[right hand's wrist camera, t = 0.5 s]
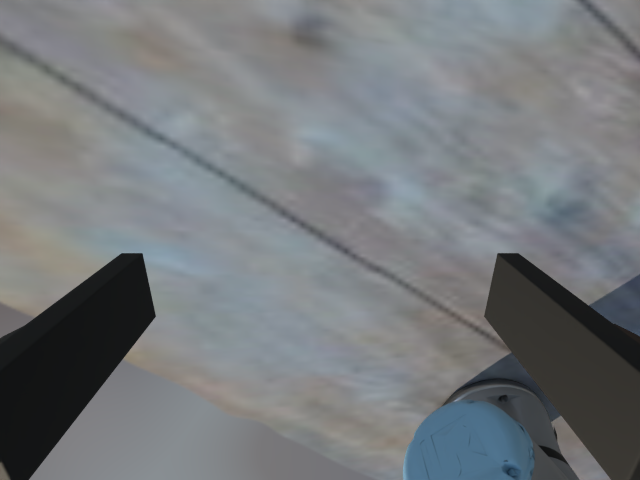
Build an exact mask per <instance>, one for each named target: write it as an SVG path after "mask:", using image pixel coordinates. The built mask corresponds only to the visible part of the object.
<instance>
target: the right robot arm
mask: <svg viewBox="0 0 640 480" xmlns="http://www.w3.org/2000/svg"><path fill="white" fill-rule="evenodd" d="M155 317H156V315H155V311H154V306H153V301H152V296H151V292H150V287H149V282H148V277H147V273H146V268H145V263H144V259H143V254H142V253H122V254H120V255H119V256H117V257H116V258H115V259H113V260H112V261H111V262H109V263H108V264H107V265H105V266H104V267H103V268H101V269H100V270H99V271H97V272H96V273H95V274H93V275H92V276H91V277H89V278H88V279H87V280H85V281H84V282H83V283H81V284H80V285H79V286H77V287H76V288H75V289H73V290H72V291H71V292H69V293H68V294H66V295H65V296H64V297H62V298H61V299H60V300H58V301H57V302H56V303H54V304H53V305H52V306H50V307H49V308H48V309H46V310H45V311H44V312H42V313H41V314H40V315H38V316H37V317H36V318H34V319H33V320H32V321H30V322H29V323H28V324H26V325H25V326H23V327H21V328H19V329H17V330H15V331H13V332H11V333H9V334H7V335H5V336H3V337H2V338H0V480H29V479H30V477H31V476H32V475H33V473H34V472H35V471H36V470H37V468H38V467H39V466H40V465H41V463H42V462H43V461H44V459H45V458H46V457H47V455H48V454H49V453H50V452H51V450H52V449H53V448H54V447H55V445H56V444H57V443H58V441H59V440H60V439H61V437H62V436H63V435H64V434H65V432H66V431H67V430H68V429H69V427H70V426H71V425H72V423H73V422H74V421H75V420H76V418H77V417H78V416H79V414H80V413H81V412H82V411H83V409H84V408H85V407H86V405H87V404H88V403H89V401H90V400H91V399H92V398H93V396H94V395H95V394H96V393H97V391H98V390H99V389H100V387H101V386H102V385H103V384H104V382H105V381H106V380H107V378H108V377H109V376H110V375H111V373H112V372H113V371H114V369H115V368H116V367H117V366H118V364H119V363H120V362H121V361H122V359H123V358H124V357H125V355H126V354H127V353H128V352H129V350H130V349H131V348H132V346H133V345H134V344H135V343H136V341H137V340H138V339H139V337H140V336H141V335H142V334H143V332H144V331H145V330H146V328H147V327H148V326H149V325H150V323H151V322H152V321H153V319H154V318H155ZM484 317H485V318H486V319H487V321H488V322H489V323H490V325H491V326H492V327H493V328H494V330H495V331H496V332H497V334H498V335H499V336H500V337H501V339H502V340H503V341H504V343H505V344H506V345H507V346H508V348H509V349H510V350H511V352H512V353H513V354H514V355H515V357H516V358H517V359H518V361H519V362H520V363H521V364H522V366H523V367H524V368H525V369H526V371H527V372H528V373H529V375H530V376H531V377H532V378H533V380H534V381H535V382H536V384H537V385H538V386H539V387H540V389H541V390H542V391H543V393H544V394H545V395H546V396H547V398H548V399H549V400H550V402H551V403H552V404H553V405H554V407H555V408H556V409H557V411H558V412H559V413H560V414H561V416H562V417H563V418H564V420H565V421H566V422H567V423H568V425H569V426H570V427H571V429H572V430H573V431H574V432H575V434H576V435H577V436H578V438H579V439H580V440H581V441H582V443H583V444H584V445H585V447H586V448H587V449H588V450H589V452H590V453H591V454H592V456H593V457H594V458H595V459H596V461H597V462H598V463H599V465H600V466H601V467H602V468H603V470H604V471H605V472H606V474H607V475H608V476H609V477H610V479H611V480H640V337H639V336H638V335H636V334H634V333H632V332H630V331H628V330H626V329H624V328H622V327H620V326H618V325H616V324H612V323H611V322H610V321H608V320H607V319H606V318H604V317H603V316H602V315H600V314H599V313H598V312H596V311H595V310H594V309H592V308H591V307H590V306H588V305H587V304H586V303H584V302H583V301H582V300H580V299H579V298H578V297H576V296H575V295H574V294H572V293H571V292H569V291H568V290H567V289H565V288H564V287H563V286H561V285H560V284H559V283H557V282H556V281H555V280H553V279H552V278H551V277H549V276H548V275H547V274H545V273H544V272H543V271H541V270H540V269H539V268H537V267H536V266H535V265H533V264H532V263H531V262H529V261H528V260H527V259H525V258H524V257H523V256H521V255H520V254H518V253H498V254H497V259H496V263H495V268H494V273H493V277H492V282H491V287H490V292H489V296H488V301H487V306H486V311H485V315H484Z"/></svg>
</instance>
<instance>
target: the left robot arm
mask: <svg viewBox="0 0 640 480" xmlns="http://www.w3.org/2000/svg"><path fill="white" fill-rule="evenodd" d="M403 480H579V478H578V477H577V476H576V474H575V473H574V471H573V470H572V468H571V467H570V466H569V464H568V463H567V461H566V460H565V458H564V457H563V455H562V454H561V452H560V449H559V446H558V443H557V434H556V431H555V428H554V430H553V427H552V424H551V421H550V418H549V415H548V413H547V411H546V409H545V407H544V405H543V403H542V402H541V401H540V400H539V398H538V397H537V396H536V394H535V393H534V392H533V391H532V390H531V389H530V388H528V387H527V386H525V385H523V384H521V383H518V382H515V381H511V380H503V379H493V380H485V381H480V382H477V383H474V384H471V385H468V386H466V387H464V388H462V389H461V390H459V391H457V392H456V393H455V394H453V395H452V396H451V397H450V398H449V399H448V400H447V401H446V402H445V403H444V405H443V406H442V407H440V408H439V409H437V410H436V411H434V412H433V413H432V414H430V415H429V416H428V417H427V418H426V419H425V420H424V421H423V422H422V423H421V425H420V426H419V427H418V429H417V430H416V432H415V433H414V438H413V440H412V442H411V443H410V444H409V446H408V448H407V451H406V455H405V460H404V466H403Z"/></svg>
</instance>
